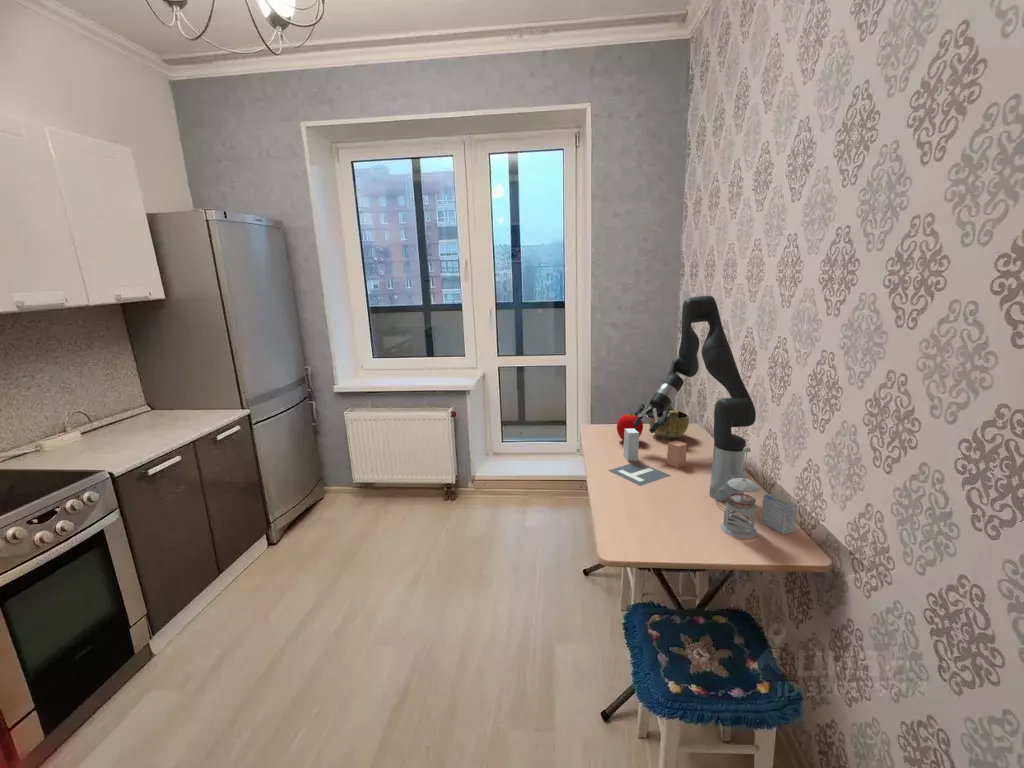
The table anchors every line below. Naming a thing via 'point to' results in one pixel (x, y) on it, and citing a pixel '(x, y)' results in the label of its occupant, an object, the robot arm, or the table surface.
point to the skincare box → (631, 444)
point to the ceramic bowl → (672, 424)
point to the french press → (735, 522)
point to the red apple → (628, 424)
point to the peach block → (676, 453)
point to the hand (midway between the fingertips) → (642, 429)
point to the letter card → (639, 473)
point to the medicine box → (779, 513)
